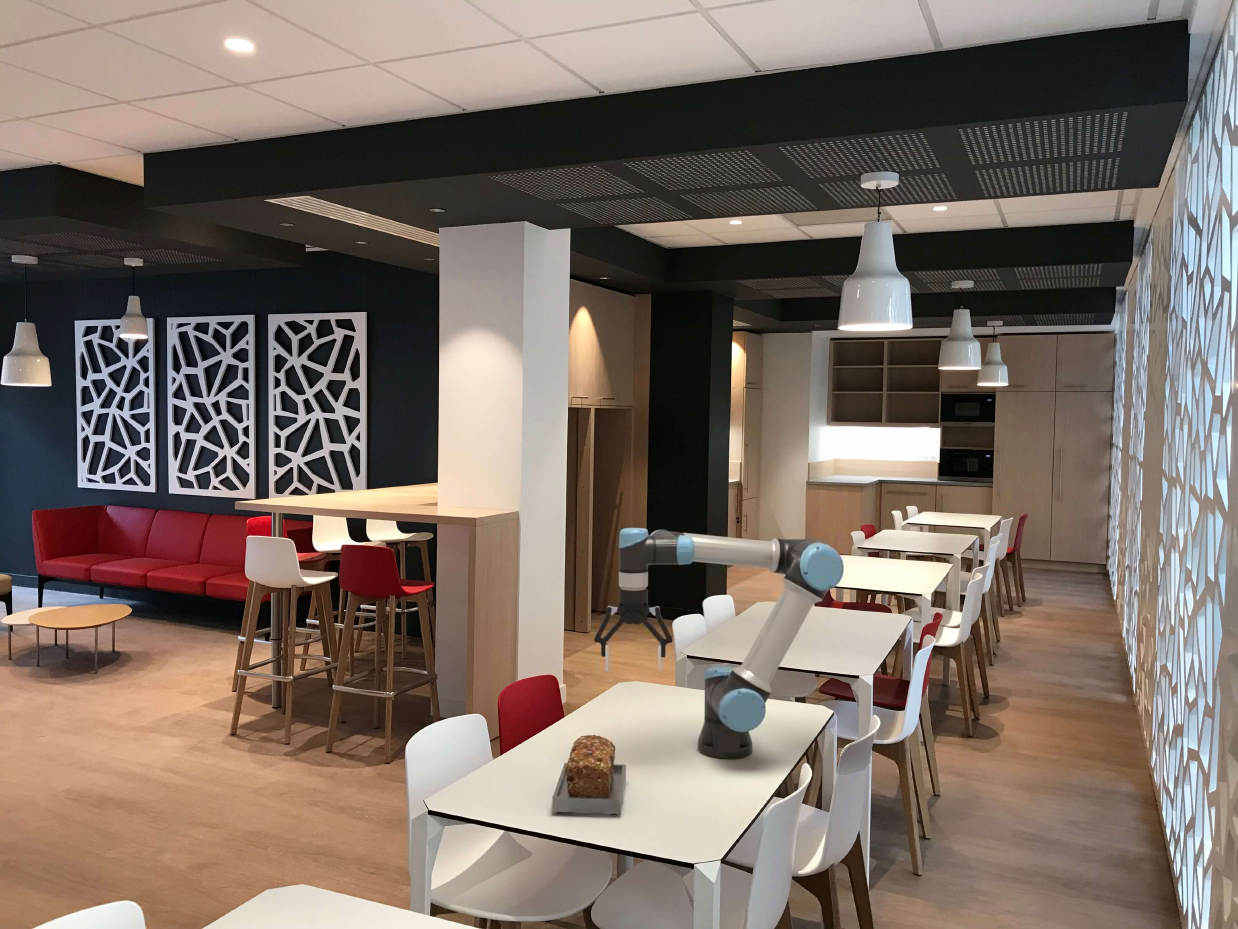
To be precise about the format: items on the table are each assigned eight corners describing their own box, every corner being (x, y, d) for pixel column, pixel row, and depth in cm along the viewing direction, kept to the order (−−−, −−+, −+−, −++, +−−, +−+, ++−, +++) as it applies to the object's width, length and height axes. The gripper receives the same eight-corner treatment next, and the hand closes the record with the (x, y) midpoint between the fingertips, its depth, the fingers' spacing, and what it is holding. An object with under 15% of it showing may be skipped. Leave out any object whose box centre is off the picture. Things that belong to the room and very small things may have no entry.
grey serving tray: (625, 781, 242) (626, 764, 242) (620, 818, 219) (620, 799, 218) (564, 779, 243) (564, 762, 243) (552, 815, 219) (552, 797, 219)
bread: (574, 771, 240) (574, 731, 240) (616, 772, 239) (617, 733, 239) (564, 799, 222) (564, 756, 221) (610, 801, 221) (610, 758, 221)
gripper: (681, 586, 252) (681, 666, 252) (586, 585, 253) (586, 665, 253) (681, 590, 244) (681, 673, 245) (584, 589, 245) (584, 672, 246)
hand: (633, 669), depth 249 cm, fingers open, 13 cm apart
